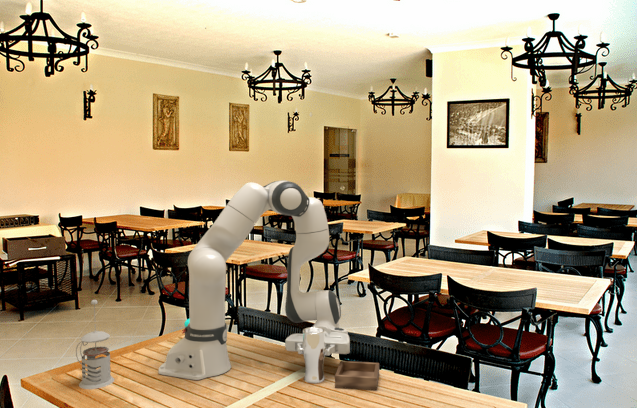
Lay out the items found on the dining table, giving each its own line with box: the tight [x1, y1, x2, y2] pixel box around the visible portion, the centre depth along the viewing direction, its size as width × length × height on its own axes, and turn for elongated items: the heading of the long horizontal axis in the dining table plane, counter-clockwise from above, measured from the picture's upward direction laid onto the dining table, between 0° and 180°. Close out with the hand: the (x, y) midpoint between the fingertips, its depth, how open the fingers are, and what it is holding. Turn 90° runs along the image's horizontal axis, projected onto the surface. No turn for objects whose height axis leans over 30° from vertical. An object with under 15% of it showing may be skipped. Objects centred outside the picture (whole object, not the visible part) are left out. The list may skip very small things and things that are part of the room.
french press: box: [75, 299, 115, 390], centre depth 149 cm, size 10×12×25 cm
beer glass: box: [302, 326, 326, 384], centre depth 149 cm, size 7×7×15 cm
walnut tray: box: [334, 360, 380, 392], centre depth 148 cm, size 12×12×4 cm
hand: (313, 352), depth 148 cm, fingers closed on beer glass, 7 cm apart
